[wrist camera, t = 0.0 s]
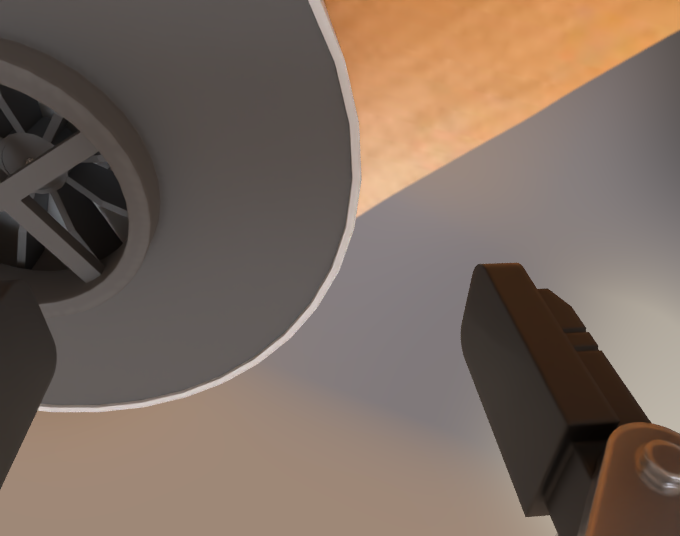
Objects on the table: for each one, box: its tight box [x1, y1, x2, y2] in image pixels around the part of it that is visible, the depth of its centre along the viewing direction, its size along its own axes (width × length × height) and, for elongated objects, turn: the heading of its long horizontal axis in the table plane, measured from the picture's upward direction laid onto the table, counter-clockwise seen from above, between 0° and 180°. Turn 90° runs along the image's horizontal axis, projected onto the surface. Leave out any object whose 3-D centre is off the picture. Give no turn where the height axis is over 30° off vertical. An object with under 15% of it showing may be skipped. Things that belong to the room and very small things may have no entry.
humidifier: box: [0, 0, 361, 412], centre depth 23 cm, size 22×21×23 cm
